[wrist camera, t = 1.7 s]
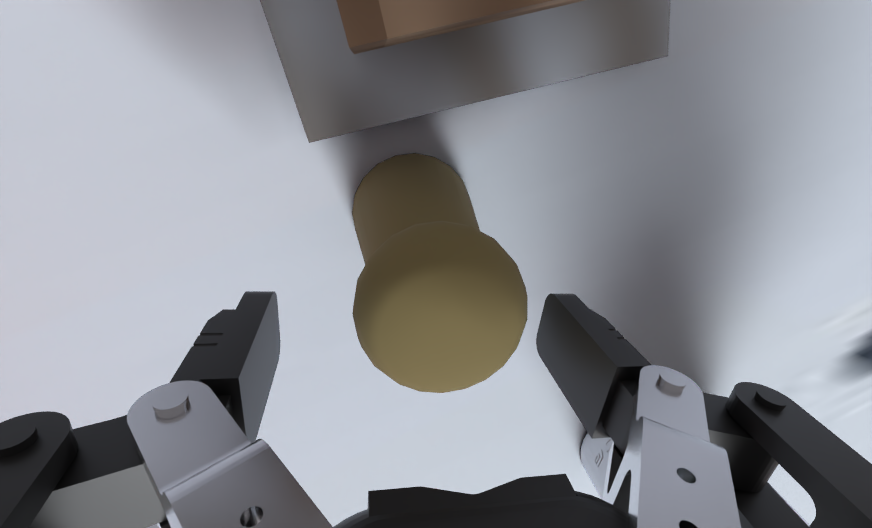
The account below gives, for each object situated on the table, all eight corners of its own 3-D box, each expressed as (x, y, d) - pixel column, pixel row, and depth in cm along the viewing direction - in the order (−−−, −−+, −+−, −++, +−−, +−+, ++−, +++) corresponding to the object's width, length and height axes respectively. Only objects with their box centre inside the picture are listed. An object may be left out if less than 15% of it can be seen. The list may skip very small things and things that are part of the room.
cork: (445, 280, 22) (502, 440, 13) (337, 249, 21) (306, 405, 11) (489, 177, 20) (600, 274, 10) (373, 134, 19) (375, 199, 9)
